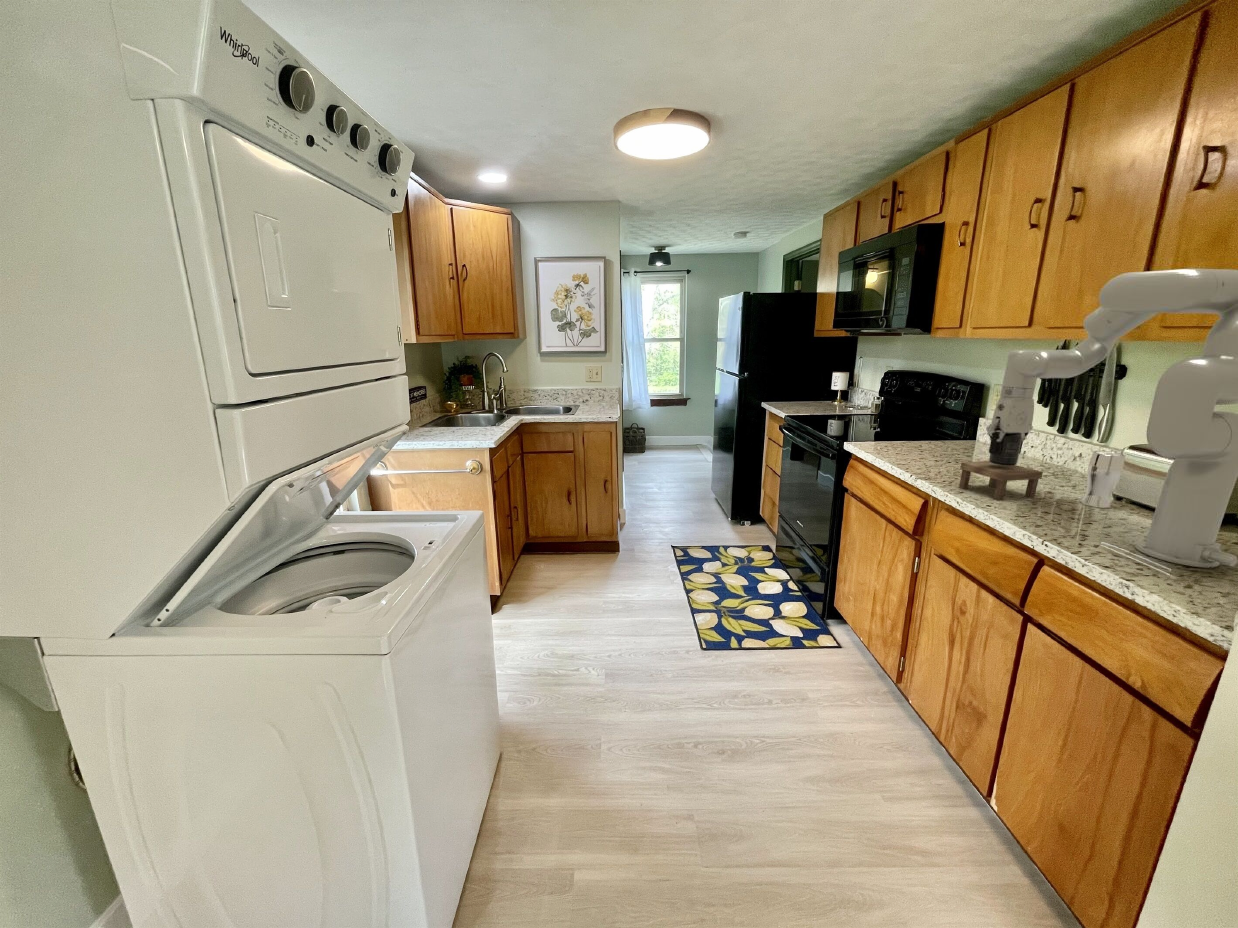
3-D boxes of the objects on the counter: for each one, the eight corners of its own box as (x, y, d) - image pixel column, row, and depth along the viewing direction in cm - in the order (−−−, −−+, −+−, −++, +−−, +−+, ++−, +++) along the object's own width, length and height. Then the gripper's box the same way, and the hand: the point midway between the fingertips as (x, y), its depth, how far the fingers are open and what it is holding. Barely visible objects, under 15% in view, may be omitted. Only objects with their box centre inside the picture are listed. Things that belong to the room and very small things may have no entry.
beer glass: (1119, 509, 139) (1134, 456, 135) (1093, 508, 139) (1108, 456, 135) (1096, 500, 146) (1110, 450, 142) (1072, 500, 146) (1085, 450, 142)
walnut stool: (1036, 498, 147) (1042, 472, 145) (998, 501, 144) (1004, 474, 142) (992, 484, 161) (997, 460, 159) (956, 487, 157) (961, 462, 155)
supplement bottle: (1017, 463, 150) (1026, 423, 147) (1015, 467, 145) (1023, 426, 142) (990, 459, 155) (997, 421, 152) (986, 463, 150) (994, 423, 147)
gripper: (1005, 395, 139) (992, 457, 144) (1053, 394, 143) (1039, 455, 148) (980, 392, 146) (969, 451, 151) (1027, 391, 150) (1014, 449, 155)
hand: (1004, 453), depth 149 cm, fingers closed on supplement bottle, 6 cm apart
